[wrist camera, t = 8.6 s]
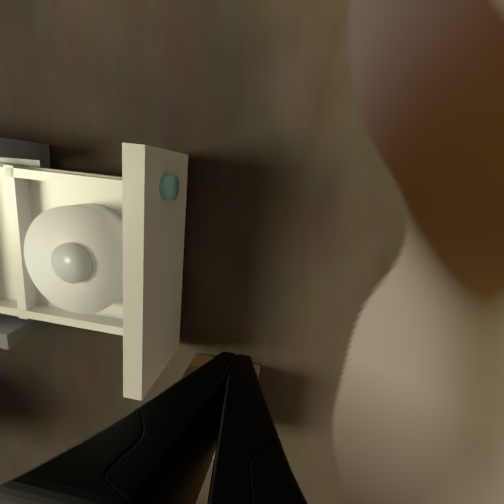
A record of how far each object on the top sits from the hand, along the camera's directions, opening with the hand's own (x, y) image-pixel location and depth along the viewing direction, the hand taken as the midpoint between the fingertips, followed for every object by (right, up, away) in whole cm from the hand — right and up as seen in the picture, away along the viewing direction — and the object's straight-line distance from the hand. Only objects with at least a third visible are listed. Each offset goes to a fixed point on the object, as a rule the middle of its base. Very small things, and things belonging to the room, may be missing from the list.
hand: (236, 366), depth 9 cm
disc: (-9, +3, +9) cm, 13 cm away
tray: (-10, +4, +10) cm, 15 cm away
